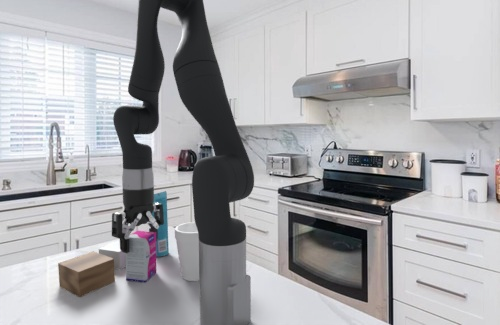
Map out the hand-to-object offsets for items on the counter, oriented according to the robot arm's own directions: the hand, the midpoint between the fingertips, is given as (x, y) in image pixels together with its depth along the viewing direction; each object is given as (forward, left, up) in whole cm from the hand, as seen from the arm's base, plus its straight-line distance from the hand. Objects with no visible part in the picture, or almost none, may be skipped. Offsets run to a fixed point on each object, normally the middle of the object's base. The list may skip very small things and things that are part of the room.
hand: (140, 246), depth 82 cm
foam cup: (-11, -8, -8) cm, 16 cm away
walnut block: (+8, +10, -8) cm, 15 cm away
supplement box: (0, 0, -8) cm, 8 cm away
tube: (+8, -13, -8) cm, 17 cm away
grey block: (+13, -2, -8) cm, 15 cm away
